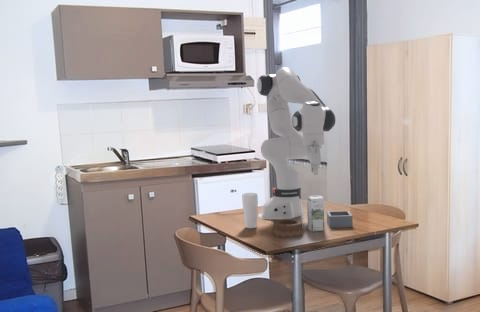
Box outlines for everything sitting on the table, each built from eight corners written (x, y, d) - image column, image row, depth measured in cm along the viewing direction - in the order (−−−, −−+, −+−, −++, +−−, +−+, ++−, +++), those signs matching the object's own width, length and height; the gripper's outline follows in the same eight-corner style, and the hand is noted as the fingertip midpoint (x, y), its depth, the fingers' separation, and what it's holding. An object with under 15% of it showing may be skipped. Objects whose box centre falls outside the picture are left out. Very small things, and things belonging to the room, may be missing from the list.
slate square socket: (329, 227, 219) (329, 216, 218) (327, 222, 228) (326, 211, 228) (352, 227, 218) (352, 215, 218) (349, 221, 228) (348, 210, 227)
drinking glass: (247, 230, 221) (245, 196, 220) (241, 226, 227) (239, 193, 226) (261, 227, 224) (259, 194, 222) (254, 224, 230) (253, 192, 228)
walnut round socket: (274, 238, 206) (273, 226, 206) (274, 230, 218) (273, 219, 217) (303, 237, 206) (303, 225, 205) (301, 229, 217) (301, 218, 217)
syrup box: (320, 227, 219) (319, 194, 218) (324, 231, 214) (323, 197, 212) (307, 229, 218) (306, 195, 217) (311, 232, 213) (310, 198, 211)
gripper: (323, 142, 201) (324, 176, 203) (318, 138, 222) (319, 169, 223) (307, 142, 202) (309, 177, 203) (304, 139, 222) (305, 170, 223)
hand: (314, 173), depth 213 cm, fingers open, 8 cm apart
